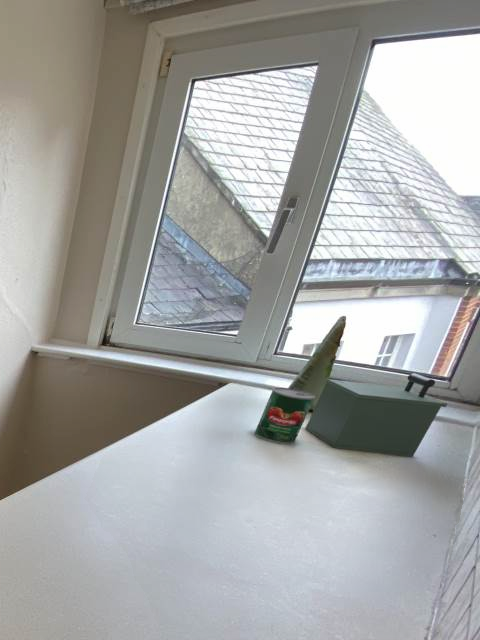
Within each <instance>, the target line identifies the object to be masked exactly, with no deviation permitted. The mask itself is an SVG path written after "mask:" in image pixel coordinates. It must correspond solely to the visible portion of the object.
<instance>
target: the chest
mask: <svg viewBox="0 0 480 640" xmlns="http://www.w3.org/2000/svg"><path fill="white" fill-rule="evenodd" d="M441 408H442V407H440V406H430V405H421V404H411V403H402V402H393V401H383V400H374V399H364V398H357V397H355V396H353V395H351V394H349V393H347V392H345V391H343V390H341V389H339V388H337V387H335V386H333V385H331V384H328V383H326V384H325V387H324V389H323V391H322V393H321V395H320V397H319V400H318V402H317V404H316V406H315V408H314V410H312V412H311V415H310V417H309V419H308V422H307V424H306V426H305V428H304V429H305V430H306V431H307V432H309V433H310V434H312V435H314V436H315V437H317V438H318V439H320V440H321V441H323V442H325V443H326V444H328V445H329V446H330V447H331V448H334V449H343V450H351V451H358V452H359V451H361V452H368V453H377V454H385V455H393V456H401V457H409V458H410V457H411V458H412V457H413V458H414V456H415V454H416V452H417V450H418V448H419V447H420V444H421V443H422V441H423V439H424V438H425V436H426V435H427V433H428V431H429V430H430V427H431V425H432V424H433V422H434V420H435V418H436V417H437V415H438V414H439V412H440V410H441Z"/></svg>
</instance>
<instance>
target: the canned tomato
mask: <svg viewBox="0 0 480 640" xmlns="http://www.w3.org/2000/svg"><path fill="white" fill-rule="evenodd" d="M314 399H315V396H314V395H313V394H310V393H308V392H304V391H300V390H295V389H289V388H288V387H274V388H273V389H272V390H271V393H270V394H269V398H268V400H267V402H266V405H265V407H264V409H263V412H262V414H261V417H260V418H259V422H258V424H257V426H256V428H255V431H254V433H253V434H254V436H256V437H258V438H259V439H261V440H265V441H267V442H271V443H276V444H283V445H291V444H294V443H296V439H297V437H298V436H299V433H300V431H301V429H302V427H303V425H304V422H305V420H306V419H307V416H308V414H309V412H310V407H311V405H312V403H313V401H314Z"/></svg>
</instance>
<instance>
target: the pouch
mask: <svg viewBox="0 0 480 640" xmlns="http://www.w3.org/2000/svg"><path fill="white" fill-rule="evenodd" d="M346 321H347V315H341V316H339V318H338V319H337V320H336V322H334V324H333V326H332V327H331V328H330V329H329V331H328V332H327V333H326V335H325V336H324V337H323V339H322V340H321V343H320V344H319V346H318V347H317V348H316V350H315V351H314V353H313V354H312V355H311V357H310V358H309V359H308V361H307V362H306V364H305V365H304V366H303V367H302V369H301V370H300V372H299V373H298V374H297V376H296V377H295V378H294V379H293V381H292V382H291V383H290V385H289V386H288V387H287V388H289V389H295V390H300V391H304V392H308V393H310V394H313V395H314V396H315V399H314V401H313V403H312V405H311V407H310V409H309V411H314V408H315V406H316V404H317V402H318V400H319V397H320V395H321V393H322V391H323V389H324V387H325V384H326V382H327V380H328V379H329V380H330V376H331V374H332V371H333V366H334V364H335V361H336V360H337V352H338V350H339V348H340V347H341V341H342V338H343V336H344V333H345V332H344V331H345V328H346V324H347V322H346Z"/></svg>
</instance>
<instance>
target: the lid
mask: <svg viewBox="0 0 480 640" xmlns="http://www.w3.org/2000/svg"><path fill="white" fill-rule="evenodd" d="M407 380H408V382H407V384H406V385H405V386H398V385H389V384H377V383H369V382H367V383H366V382H357V381H349V380H337V379H330V378H329V379H328V380H327V382H326V383H328V384H331V385H333V386H335V387H337V388H339V389H341V390H343V391H345V392H347V393H349V394H351V395H353V396H355V397H357V398H364V399H374V400H383V401H393V402H402V403H411V404H421V405H430V406H440V407H441V408H446V407H447V406H448V403H447V402H446V401H442V400H439V399H437V398H435V397H432V396H430V395H427V393H428V391H429V389H430V388H433V387H434V386H435V384H436V381H435V380H434V379H433V378H429V377H427V376H424V375H422V374H419V373H415V372H413V373H410V374H409V375H408V376H407ZM415 384H416V385H420V386H422V388H421V390H420V391H417V390H415V389H413V386H414V385H415Z"/></svg>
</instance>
